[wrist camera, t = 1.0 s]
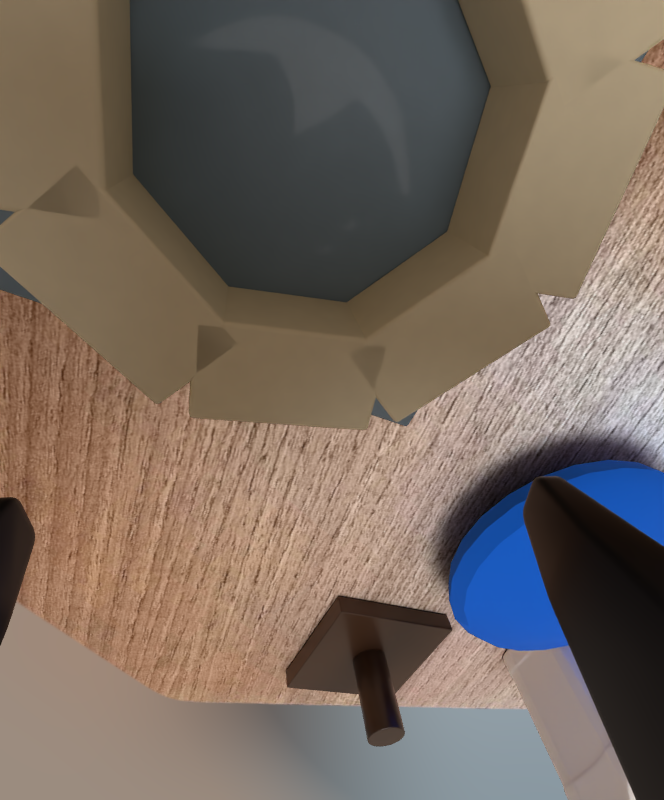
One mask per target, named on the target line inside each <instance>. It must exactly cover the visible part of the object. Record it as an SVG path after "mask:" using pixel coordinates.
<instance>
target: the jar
mask: <svg viewBox="0 0 664 800" xmlns="http://www.w3.org/2000/svg"><path fill="white" fill-rule="evenodd" d="M503 660H504V662H505V665H506V667H507V669H508V671H509V673H510V675H511V677H512V678H513V679H514V681H515V683H516V685H517V688H518V690H519V692H520V694H521V696H522V698H523V700H524V703H525V705H526V707H527V709H528V711H529V713H530V715H531V718H532V719H533V722H534V724H535V726H536V728H537V730H538V733H539V734H540V737H541V739H542V741H543V743H544V745H545V748H546V749H547V752H548V754H549V756H550V758H551V760H552V762H553V765H554V767H555V769H556V771H557V773H558V775H559V777H560V779H561V782H562V784H563V786H564V791H565V793H566V796H567V798H568V800H636V799H635V796H634V794H633V792H632V789H631V787H630V785H629V783H628V780H627V778H626V776H625V773H624V771H623V769H622V766H621V764H620V762H619V760H618V757H617V755H616V753H615V750H614V748H613V746H612V743H611V741H610V739H609V737H608V734H607V732H606V730H605V727H604V725H603V723H602V721H601V718H600V716H599V714H598V711H597V709H596V707H595V704H594V702H593V700H592V698H591V695H590V693H589V691H588V688H587V686H586V684H585V681H584V679H583V677H582V675H581V672H580V670H579V668H578V665H577V663H576V661H575V658H574V656H573V654H572V652H571V649H570V647H569V646H563V647H558V648H553V649H548V650H533V651H517V650H511V649H508V650H507V651H506V653H505V654H504V656H503Z"/></svg>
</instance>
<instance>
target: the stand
mask: <svg viewBox="0 0 664 800" xmlns="http://www.w3.org/2000/svg"><path fill="white" fill-rule="evenodd" d="M451 631H452V627H451V625H450V622H449V620H448V617H447V616H446V615H442V614H436V613H431V612H425V611H419V610H414V609H408V608H402V607H397V606H391V605H385V604H380V603H374V602H368V601H363V600H357V599H351V598H346V597H340V596H339V597H338V598H337V599H336V601H335V602H334V604H333V605H332V607H331V608H330V609H329V611H328V612H327V614H326V615H325V617H324V618H323V619H322V621H321V622H320V624H319V625H318V627H317V628H316V629H315V631H314V632H313V634H312V635H311V637H310V638H309V639H308V641H307V642H306V644H305V645H304V647H303V648H302V649H301V651H300V652H299V654H298V655H297V657H296V658H295V659H294V661H293V662H292V664H291V665H290V667H289V668H288V669H287V671H286V678H287V687H289V688H299V689H309V690H320V691H330V692H340V693H351V694H359V698H360V703H361V708H362V713H363V719H364V724H365V729H366V735H367V739H368V743H369V744H371V745H373V746H387V745H391V744H393V743H395V742H397V741H399V740H400V739H402V738H403V736H404V734H405V731H404V727H403V723H402V719H401V715H400V711H399V707H398V703H397V699H396V695H395V693H396V692H397V691H398V690H399V689H400V687H401V686H402V685H403V684H404V683H405V682H406V681H407V680H408V679H409V678H410V676H411V675H412V674H413V673H414V672H415V671H416V670H417V669H418V668H419V666H420V665H421V664H422V663H423V662H424V661H425V660H426V659H427V658H428V656H429V655H430V654H431V653H432V652H433V651H434V650H435V649H436V648H437V646H438V645H439V644H440V643H441V642H442V641H443V640H444V639H445V638H446V637H447V635H448V634H449V633H450V632H451Z"/></svg>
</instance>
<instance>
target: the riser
mask: <svg viewBox="0 0 664 800" xmlns="http://www.w3.org/2000/svg"><path fill="white" fill-rule="evenodd" d="M130 48H131V101H132V155H133V175H134V176H135V177H136V178H137V180H138V181H139V182H140V183H141V184H142V185H143V187H144V188H145V189H146V190H147V191H148V192H149V194H150V195H151V196H152V197H153V198H154V200H155V201H156V202H157V203H158V204H159V205H160V207H161V208H162V209H163V210H164V211H165V212H166V214H167V215H168V216H169V217H170V218H171V220H172V221H173V222H174V223H175V224H176V225H177V227H178V228H179V229H180V230H181V231H182V232H183V234H184V235H185V236H186V237H187V238H188V240H189V241H190V242H191V243H192V244H193V245H194V247H195V248H196V249H197V250H198V251H199V252H200V254H201V255H202V256H203V257H204V258H205V260H206V261H207V262H208V263H209V264H210V265H211V267H212V268H213V269H214V270H215V271H216V272H217V274H218V275H219V276H220V277H221V278H222V280H223V281H224V282H225V283H226V284H227V285H228V286H229V287H236V288H244V289H251V290H258V291H266V292H273V293H281V294H288V295H295V296H303V297H310V298H318V299H325V300H332V301H340V302H348V301H349V300H351V299H352V298H354V297H355V296H356V295H358V294H359V293H361V292H362V291H364V290H365V289H366V288H368V287H369V286H371V285H372V284H373V283H375V282H376V281H378V280H379V279H381V278H382V277H383V276H385V275H386V274H388V273H389V272H390V271H392V270H393V269H395V268H396V267H398V266H399V265H400V264H402V263H403V262H405V261H406V260H408V259H409V258H410V257H412V256H413V255H415V254H416V253H417V252H419V251H420V250H422V249H423V248H425V247H426V246H427V245H429V244H430V243H432V242H433V241H434V240H436V239H437V238H439V237H440V236H442V235H443V234H444V233H446V232H447V230H448V227H449V224H450V220H451V217H452V214H453V210H454V207H455V204H456V200H457V197H458V194H459V190H460V187H461V184H462V180H463V177H464V174H465V170H466V167H467V164H468V160H469V157H470V154H471V150H472V147H473V144H474V140H475V137H476V134H477V130H478V127H479V124H480V120H481V117H482V114H483V110H484V107H485V104H486V100H487V97H488V94H489V90H490V87H491V85H490V82H489V80H488V77H487V74H486V72H485V69H484V67H483V64H482V61H481V59H480V56H479V54H478V51H477V48H476V46H475V43H474V40H473V38H472V35H471V33H470V30H469V27H468V25H467V22H466V20H465V17H464V14H463V12H462V9H461V7H460V4H459V1H458V0H130ZM647 52H648V51H647ZM647 52H645V53H644V54H642V55H641V56H640V57H638V58H637V59H635V61H638V62H641V61H642V59H643V58H644V56H645V55H646V53H647ZM13 213H14V212H12V211H5V210H0V225H1V224H2V223H3V222H4V221H5V220H6V219H7V218H9V217H10V216H11V215H12V214H13ZM0 290H3V291H6V292H9V293H12V294H15V295H18V296H21V297H24V298H27V299H30V300H33V301H36V302H39V303H41V302H40V301H39V300H37V299H36V298H35V297H34V296H33V295H32V294H31V293H30V292H28V291H27V290H26V289H25V288H24V287H23V286H22V285H20V284H19V283H18V282H17V281H16V280H15V279H14V278H13V277H11V276H10V275H9V274H8V273H7V272H6V271H5V270H3V269H2V268H1V267H0ZM41 304H42V303H41ZM416 412H417V410H416V411H415V412H413V413H412V414H410V415H409V416H407V417H405V418H404V419H402V420H401V421H399V422H395V421H393V419H392V418H391V417H390V415H389V414H388V413H387V411H386V410H385V409H384V407H383V406H382V405H381V404H380V402H379V401H378V400H377V398H376V399H375V402H374V406H373V410H372V413H371V415H374V416H377V417H380V418H383V419H386V420H389V421H392V422H395V423H398V424H401V425H404V426H407V425H408V424H409V422H410V421H411V419H412V418H413V416H414V415H415V413H416Z"/></svg>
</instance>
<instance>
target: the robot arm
mask: <svg viewBox="0 0 664 800" xmlns="http://www.w3.org/2000/svg"><path fill="white" fill-rule="evenodd" d="M523 518H524V523H525V526H526V529H527V532H528V535H529V539H530V542H531V545H532V548H533V551H534V554H535V558H536V561H537V564H538V567H539V570H540V573H541V577H542V580H543V583H544V586H545V589H546V592H547V595H548V598H549V600H550V603H551V605H552V608H553V610H554V613H555V615H556V617H557V619H558V622H559V624H560V626H561V629H562V631H563V633H564V636H565V638H566V640H567V642H568V645H569V647H570V649H571V652H572V654H573V656H574V658H575V661H576V663H577V665H578V668H579V670H580V672H581V675H582V677H583V679H584V681H585V684H586V686H587V688H588V691H589V693H590V695H591V698H592V700H593V702H594V704H595V707H596V709H597V711H598V714H599V716H600V718H601V721H602V723H603V725H604V727H605V730H606V732H607V734H608V737H609V739H610V741H611V743H612V746H613V748H614V750H615V753H616V755H617V757H618V760H619V762H620V764H621V766H622V769H623V771H624V773H625V776H626V778H627V780H628V783H629V785H630V787H631V789H632V792H633V794H634V796H635V799H636V800H664V546H663V545H661V544H660V543H658V542H657V541H655V540H654V539H652V538H651V537H649V536H648V535H646V534H645V533H643V532H642V531H640V530H639V529H637V528H636V527H634V526H633V525H631V524H630V523H628V522H627V521H625V520H624V519H622V518H621V517H619V516H618V515H616V514H615V513H613V512H612V511H610V510H609V509H607V508H606V507H604V506H603V505H601V504H600V503H598V502H597V501H595V500H594V499H593V498H591V497H590V496H588V495H587V494H585V493H584V492H582V491H581V490H579V489H578V488H576V487H575V486H573V485H572V484H570V483H569V482H567V481H566V480H564V479H563V478H561V477H558V476H542V477H536V478H535V479H534V480H533V482H532V485H531V488H530V490H529V493H528V496H527V499H526V502H525V505H524V508H523ZM34 541H35V532H34V528H33V526H32V524H31V522H30V520H29V518H28V516H27V514H26V512H25V510H24V508H23V506H22V504H21V502H20V501H19V500H18V499H16V498H13V497H5V498H0V645H1V642H2V640H3V638H4V635H5V632H6V630H7V627H8V625H9V622H10V619H11V616H12V613H13V610H14V606H15V603H16V600H17V597H18V594H19V590H20V587H21V584H22V581H23V578H24V574H25V571H26V568H27V565H28V562H29V558H30V555H31V552H32V549H33V546H34Z"/></svg>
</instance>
